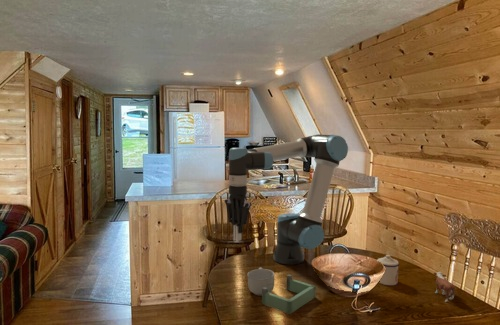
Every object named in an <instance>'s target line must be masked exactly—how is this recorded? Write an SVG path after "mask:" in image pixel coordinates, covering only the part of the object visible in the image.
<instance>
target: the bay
mask: <svg viewBox="0 0 500 325" xmlns="http://www.w3.org/2000/svg"><path fill="white" fill-rule="evenodd" d="M286 290H287V291H290V292H292V293H295V295H294V296H292V297H291V298H289V299H288V298H286V297H283V296H280V295H277V294H274V293H272V292H270V293H269V292H268V288H266V287H264V288H262V296H261V304H262V305H264V306H267V307H269V308H272V309H275V310H276V311H277V310H278V311H280V312H283V313H285V314H288V315H291V314H292V313H294V312H296V311H297V310H298V309H300V308H301V307H303V306H304V305H306V304H307V303H309V302H311V301H312V300H313V299H315V298H316V285H313V284H310V283H307V282H303V281H300V280H297V279H293V275H292V274H287V275H286Z"/></svg>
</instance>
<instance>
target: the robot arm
mask: <svg viewBox="0 0 500 325" xmlns="http://www.w3.org/2000/svg"><path fill="white" fill-rule="evenodd" d="M348 152H349V147H348V143H347V142H346V139H345V138H344V137H343V136H341V135H337V134H313V135H309V136H305V137H301V138H300V137H299V138H297V139H296V140H294V141H289V142H283V143H278V144H272V145H271V144H270V145H266V146H261V147H254V148H249V149H247V148H246V147H231V148H230V149H229V152H228V184H229V185H228V195H229V196H228V198H227V199H224V203H225V205H226V214H227V218H228V223H231V225H232V233H233V238H232V240H233V241H236V242H240V241H242V234H243V230H244V229H243V226H244V225H247V224H248V220H249V219H248V217H249V212H250V208H251V206H252V202H249V201H248V199H247V193H248V192H247V191H248V186H247V184H248V171H251V170H252V171H253V170H255V171H256V170H257V171H258V170H264V171H265V170H269V169H271V168H272V167H273V164H274V162H277V161H282V160H288V159H291V158H298V157H299V158H300V159H301V158H303V159H304V158H314V162H315V168H314V172H313V175H312V177H311V178H312V179H311V182H310V184H309V189H308V192H307V196H306V198H305V203H304V206H303V209H302V212H301V213H291V212H290V213H282V214H278V216H277V221H276V224H277V231H276V232H277V235H276V239H277V241H276V246H275V249H274V253H273V261H274V262H276V263H278V264H282V265H298V264H301V263H303V262H304V259H305V255H304V252H303V249H302V248H305V249H308V250H312V249H316V248H317V247H319V246H320V245H321V244H322V243H323V240H324V238H325V231H324V229H323V228H324V227H322V225H323V220H322V218H321V217H322V214H323V210H324V206H325V203H326V199H327V196H328V193H329V188H330V185H331V182H332V178H333V175H334V171H335V169H336V168H337V167H339V165H340V162H341V161H343V160H345V159H346V157H347V156H348Z"/></svg>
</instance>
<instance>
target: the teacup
mask: <svg viewBox="0 0 500 325" xmlns="http://www.w3.org/2000/svg"><path fill="white" fill-rule="evenodd" d="M246 275H247V284H248V285H247V287H248V289H249V291H250V292H251V293H253V294H254V295H256V296H261V297H262V288H264V287H266V288H268V292H269V293H272V291H273V290H274V288H275V272H274V271H273V270H271V269H266V268H263V267H258V268H256V269H252V270H250V271H248V272H247V274H246Z"/></svg>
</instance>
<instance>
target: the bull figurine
mask: <svg viewBox="0 0 500 325" xmlns="http://www.w3.org/2000/svg"><path fill="white" fill-rule="evenodd" d="M433 275H434V276H436V280H435V284H436V289H435V290H436V291H435V292H434V293H435V294H439V290H441V291H442V293H441V294H442V295H443V296H445V298H446V299H445V300H444V302H445V303H447V302H449V301H452V300H454V298H455V290H456V287H455V285H454V284H453V283H451V282H449V280H448V279H446V277H447V275H446V274H443V272H441V271H438V272H437V273H436V272H433Z"/></svg>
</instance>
